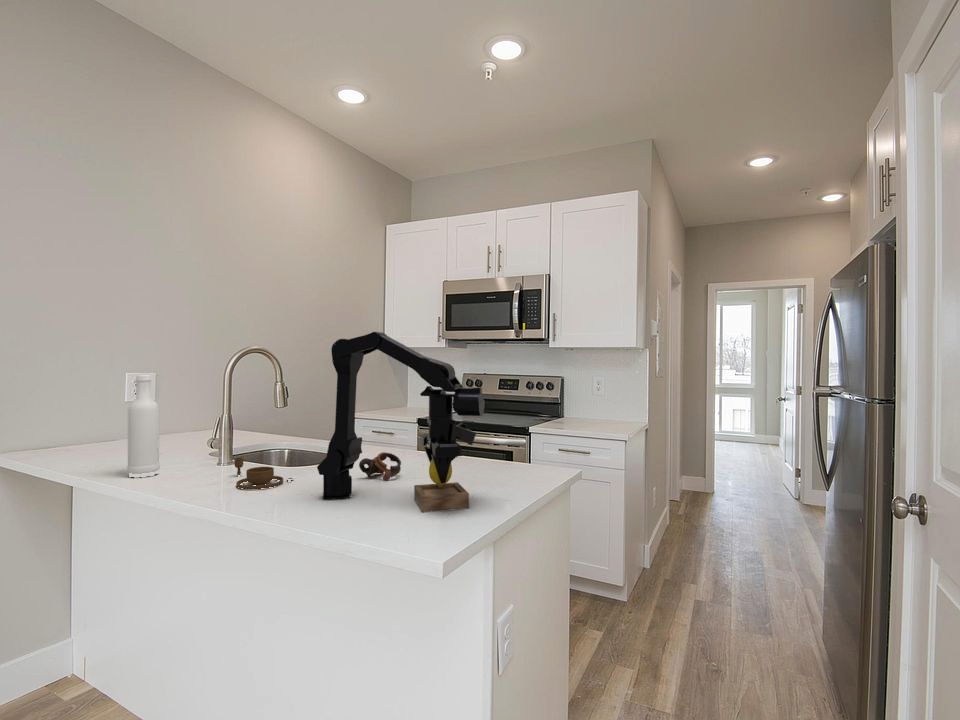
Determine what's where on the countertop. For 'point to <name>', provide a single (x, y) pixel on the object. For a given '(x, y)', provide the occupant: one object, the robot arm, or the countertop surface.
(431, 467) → the lemon
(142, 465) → the bottle
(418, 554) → the countertop surface
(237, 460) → the place setting
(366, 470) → the brown twisted loop
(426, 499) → the walnut base
